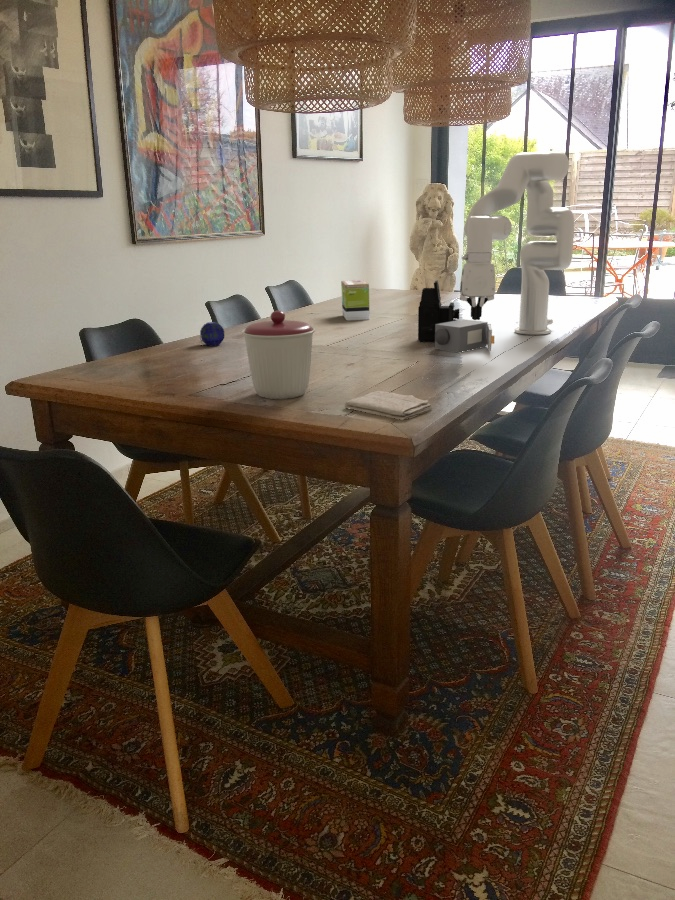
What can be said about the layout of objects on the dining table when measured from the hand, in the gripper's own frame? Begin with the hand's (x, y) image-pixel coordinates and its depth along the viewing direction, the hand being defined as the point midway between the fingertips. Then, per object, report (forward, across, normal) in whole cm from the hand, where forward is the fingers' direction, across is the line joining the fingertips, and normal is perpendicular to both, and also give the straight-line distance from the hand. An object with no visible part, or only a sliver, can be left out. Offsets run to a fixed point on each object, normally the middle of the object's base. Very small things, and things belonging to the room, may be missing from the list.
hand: (475, 319), depth 233 cm
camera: (+10, -6, +23) cm, 26 cm away
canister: (+12, -63, -42) cm, 77 cm away
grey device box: (+10, -2, +9) cm, 14 cm away
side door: (+9, +6, +2) cm, 11 cm away
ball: (+11, -83, +34) cm, 90 cm away
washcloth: (+13, -39, -61) cm, 74 cm away
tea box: (+10, -26, +85) cm, 89 cm away
